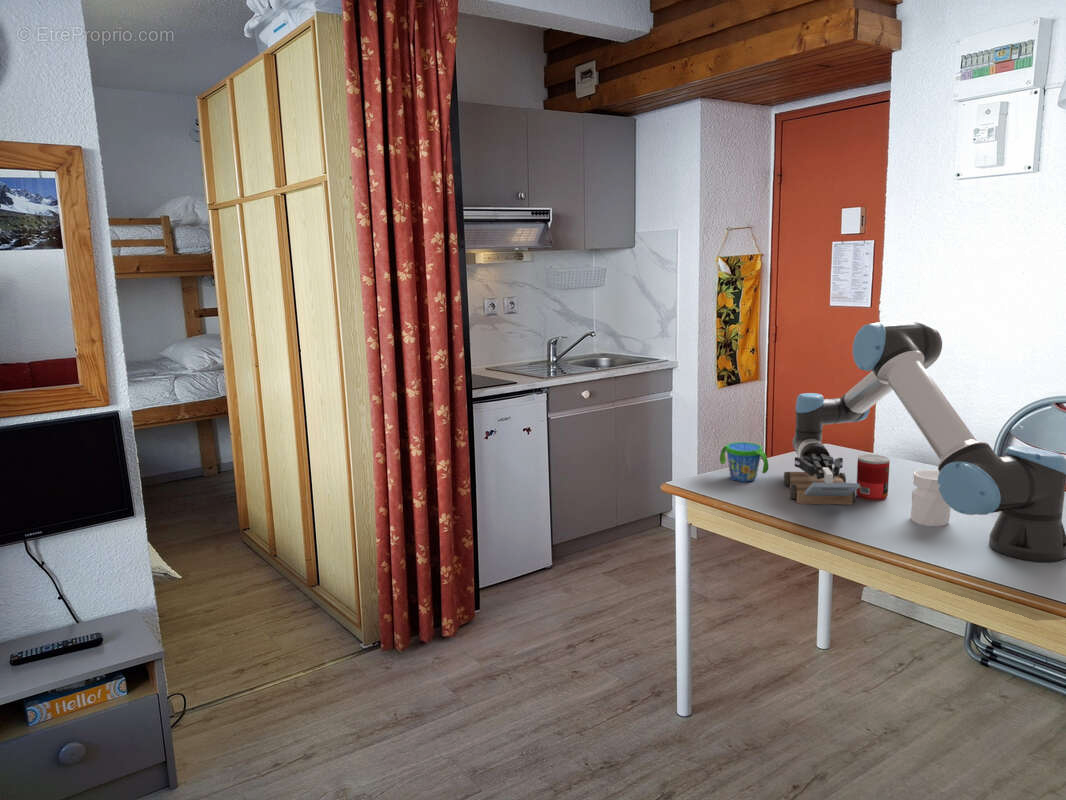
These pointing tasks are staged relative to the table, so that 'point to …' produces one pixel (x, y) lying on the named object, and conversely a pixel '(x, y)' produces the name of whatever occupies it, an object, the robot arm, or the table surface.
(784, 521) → the table surface
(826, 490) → the grey flat slab
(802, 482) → the flatbed
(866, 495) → the canned food
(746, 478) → the snack cup
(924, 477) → the vase
